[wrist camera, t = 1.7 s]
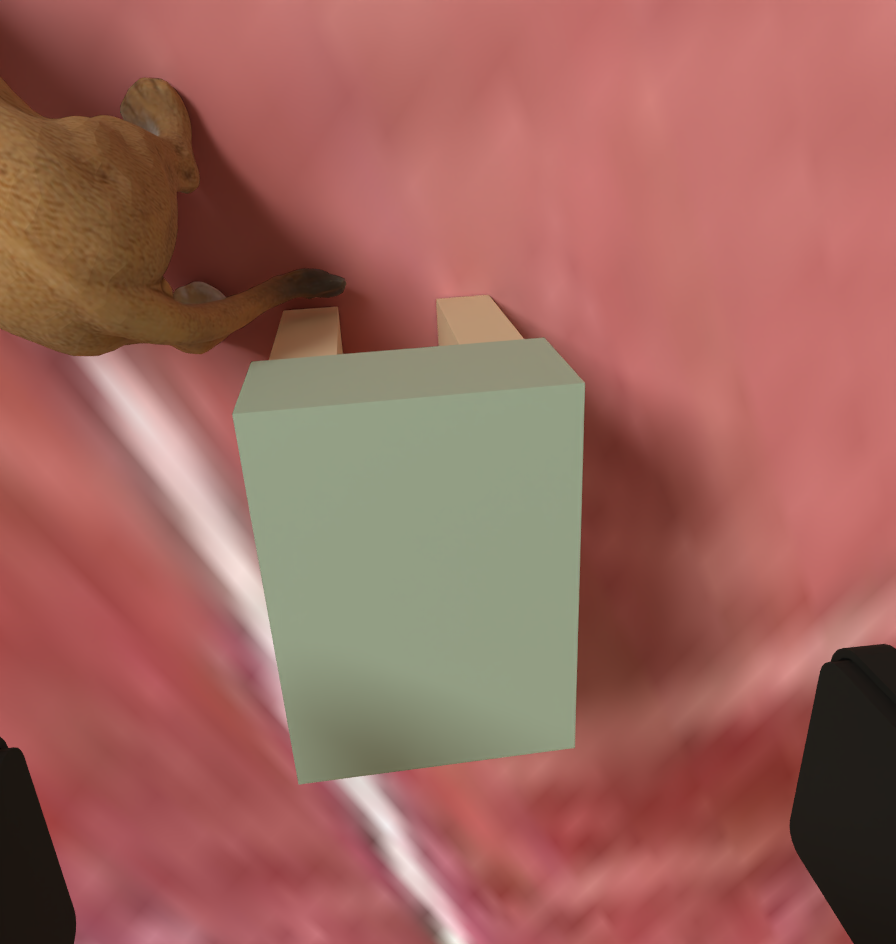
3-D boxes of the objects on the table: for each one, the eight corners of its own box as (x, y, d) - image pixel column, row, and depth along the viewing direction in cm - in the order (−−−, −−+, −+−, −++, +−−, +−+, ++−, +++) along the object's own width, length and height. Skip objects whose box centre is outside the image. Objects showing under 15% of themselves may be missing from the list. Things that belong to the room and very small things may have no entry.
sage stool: (273, 302, 17) (232, 414, 11) (497, 285, 17) (584, 383, 11) (312, 572, 20) (298, 784, 14) (502, 551, 20) (575, 747, 14)
